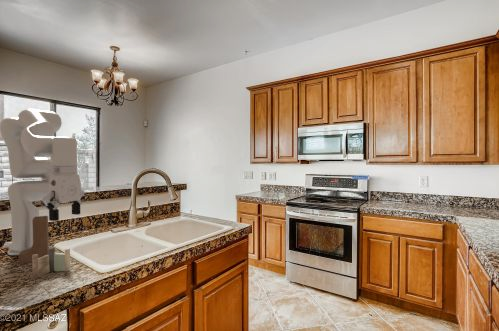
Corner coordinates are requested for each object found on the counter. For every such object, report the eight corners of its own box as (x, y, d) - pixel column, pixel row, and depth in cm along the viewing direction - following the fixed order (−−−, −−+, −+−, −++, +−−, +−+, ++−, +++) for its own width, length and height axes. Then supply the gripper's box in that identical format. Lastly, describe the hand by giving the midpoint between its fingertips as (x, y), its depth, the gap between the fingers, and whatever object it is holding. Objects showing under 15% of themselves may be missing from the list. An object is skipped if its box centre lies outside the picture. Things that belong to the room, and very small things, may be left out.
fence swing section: (53, 271, 95) (52, 249, 95) (57, 269, 96) (56, 247, 96) (68, 271, 94) (67, 250, 94) (71, 269, 96) (70, 248, 96)
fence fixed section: (36, 281, 89) (35, 255, 88) (30, 281, 89) (30, 255, 89) (56, 271, 97) (55, 247, 96) (51, 270, 97) (51, 247, 97)
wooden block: (18, 266, 101) (17, 220, 101) (21, 262, 105) (19, 218, 104) (47, 261, 106) (46, 217, 105) (49, 257, 110) (48, 215, 109)
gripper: (53, 172, 85) (54, 223, 86) (91, 169, 103) (92, 212, 103) (33, 172, 86) (34, 222, 87) (74, 169, 104) (75, 211, 104)
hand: (65, 217), depth 95 cm, fingers open, 9 cm apart
